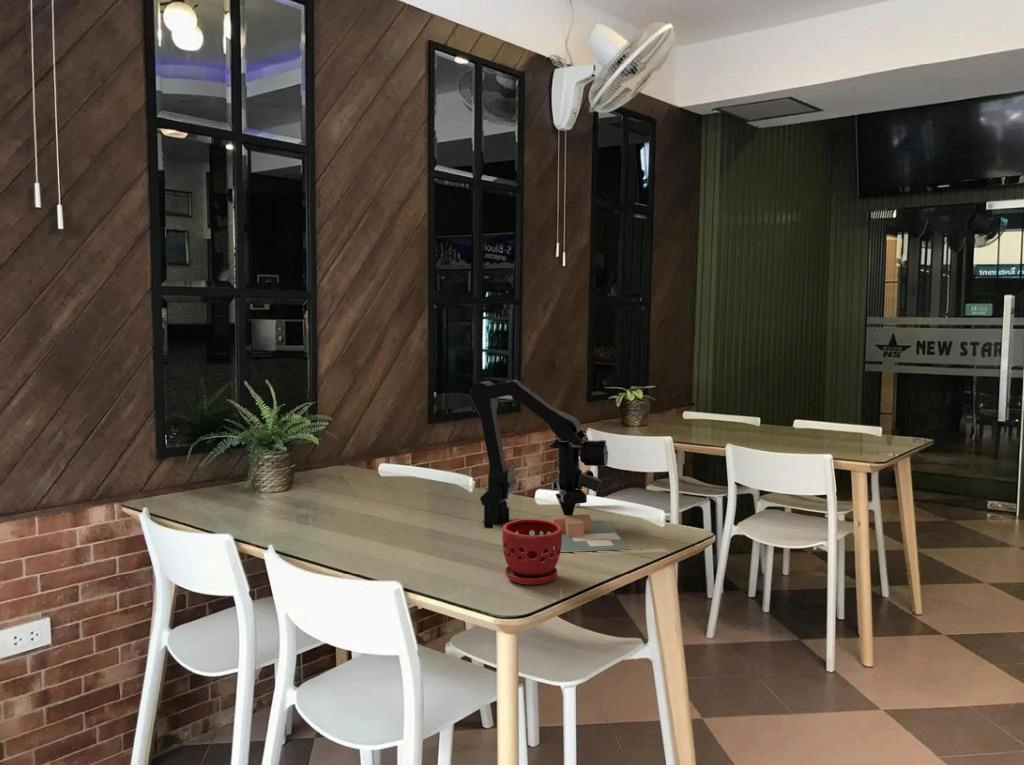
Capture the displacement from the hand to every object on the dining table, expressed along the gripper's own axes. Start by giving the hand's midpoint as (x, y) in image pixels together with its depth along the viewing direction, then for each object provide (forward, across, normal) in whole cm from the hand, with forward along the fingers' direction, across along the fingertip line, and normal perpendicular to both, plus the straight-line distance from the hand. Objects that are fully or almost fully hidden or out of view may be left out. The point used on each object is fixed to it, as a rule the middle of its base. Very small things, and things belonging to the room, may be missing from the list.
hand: (568, 521), depth 227 cm
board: (+2, -10, 0) cm, 10 cm away
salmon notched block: (+1, -6, 0) cm, 6 cm away
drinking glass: (+2, +24, -5) cm, 25 cm away
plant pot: (+2, -39, +16) cm, 42 cm away
